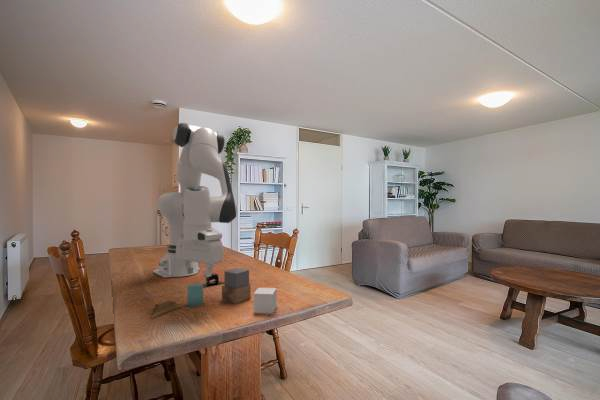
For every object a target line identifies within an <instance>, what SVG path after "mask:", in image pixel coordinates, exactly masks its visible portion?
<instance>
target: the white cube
mask: <svg viewBox="0 0 600 400" xmlns="http://www.w3.org/2000/svg"><path fill="white" fill-rule="evenodd" d="M277 304H278V303H277V288H276V287H258V288H256V290H255V292H254V293H253V313H254V314H255V313H256V314H269V315H270V314H271V315H273V314H274V312H275V310H276V309H277Z"/></svg>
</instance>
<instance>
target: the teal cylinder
mask: <svg viewBox="0 0 600 400" xmlns="http://www.w3.org/2000/svg"><path fill="white" fill-rule="evenodd" d="M203 284H204V283H193V284H189V285H187V286H186V288H187V290H186V291H187V292H186V293H187V294H186V295H187V296H186V298H187V299H186V301H187V302H186V303H187V304H186V305H187V307H190V308H191V307H194V308H195V307H200V306H202V305H203V304H204V288H203Z"/></svg>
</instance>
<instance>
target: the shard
mask: <svg viewBox="0 0 600 400" xmlns="http://www.w3.org/2000/svg"><path fill="white" fill-rule="evenodd" d="M181 307H182V303H181V302H179V301H176V300H172V299H167V300H165V301H162V302H160V303H155V305H154V308H153V310H152V313H151V317H152V319H155V318H156V317H159V316H161V315H163V314H166V313H168V312H170V311H174V310H176V309H179V308H181Z"/></svg>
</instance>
